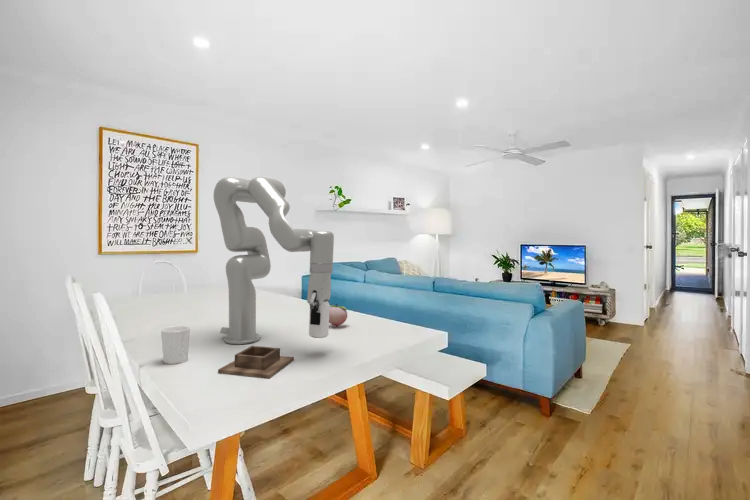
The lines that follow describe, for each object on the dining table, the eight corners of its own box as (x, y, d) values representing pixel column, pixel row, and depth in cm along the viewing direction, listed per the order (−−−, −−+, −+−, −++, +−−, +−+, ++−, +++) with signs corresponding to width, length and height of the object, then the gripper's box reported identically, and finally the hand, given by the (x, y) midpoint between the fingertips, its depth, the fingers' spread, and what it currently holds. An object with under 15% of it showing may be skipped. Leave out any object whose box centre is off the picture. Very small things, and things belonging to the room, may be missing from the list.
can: (324, 339, 126) (326, 302, 125) (305, 337, 127) (307, 300, 126) (330, 333, 132) (332, 298, 131) (312, 332, 133) (314, 297, 133)
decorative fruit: (323, 328, 164) (323, 304, 163) (328, 324, 172) (328, 301, 171) (344, 329, 162) (345, 306, 162) (349, 325, 170) (349, 302, 170)
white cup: (170, 366, 116) (170, 333, 115) (156, 361, 120) (155, 329, 119) (195, 359, 122) (195, 328, 122) (180, 355, 127) (180, 324, 126)
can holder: (218, 373, 111) (218, 357, 111) (248, 355, 127) (248, 342, 126) (269, 378, 107) (269, 362, 107) (294, 360, 123) (294, 346, 123)
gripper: (319, 265, 138) (318, 315, 139) (299, 270, 121) (297, 327, 122) (340, 266, 136) (338, 317, 137) (322, 271, 119) (320, 329, 120)
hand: (319, 321), depth 129 cm, fingers closed on can, 6 cm apart
